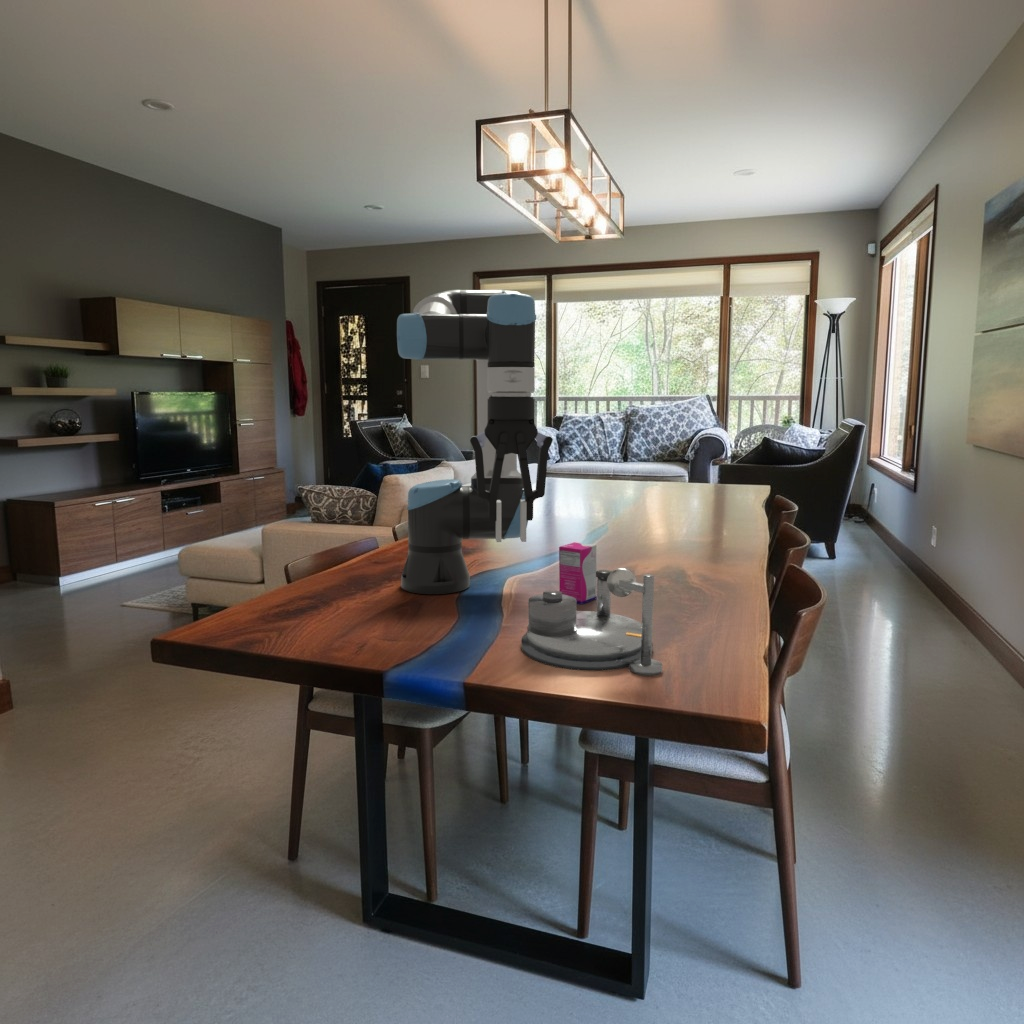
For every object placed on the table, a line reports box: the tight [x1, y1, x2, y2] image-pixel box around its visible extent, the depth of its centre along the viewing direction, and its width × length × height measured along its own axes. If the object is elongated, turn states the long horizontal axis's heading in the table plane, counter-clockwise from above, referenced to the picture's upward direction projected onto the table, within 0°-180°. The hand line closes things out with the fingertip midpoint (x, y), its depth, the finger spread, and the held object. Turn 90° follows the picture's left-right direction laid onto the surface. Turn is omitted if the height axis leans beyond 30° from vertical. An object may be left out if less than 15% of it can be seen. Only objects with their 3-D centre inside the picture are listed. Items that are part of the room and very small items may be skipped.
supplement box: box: [558, 542, 597, 605], centre depth 156 cm, size 6×6×12 cm
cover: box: [527, 590, 578, 637], centre depth 126 cm, size 8×8×6 cm
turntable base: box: [520, 632, 654, 672], centre depth 127 cm, size 22×22×1 cm
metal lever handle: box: [607, 567, 663, 677], centre depth 117 cm, size 10×5×15 cm, turn 64°
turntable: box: [526, 569, 642, 660], centre depth 126 cm, size 20×20×10 cm
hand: (510, 540), depth 123 cm, fingers open, 3 cm apart
